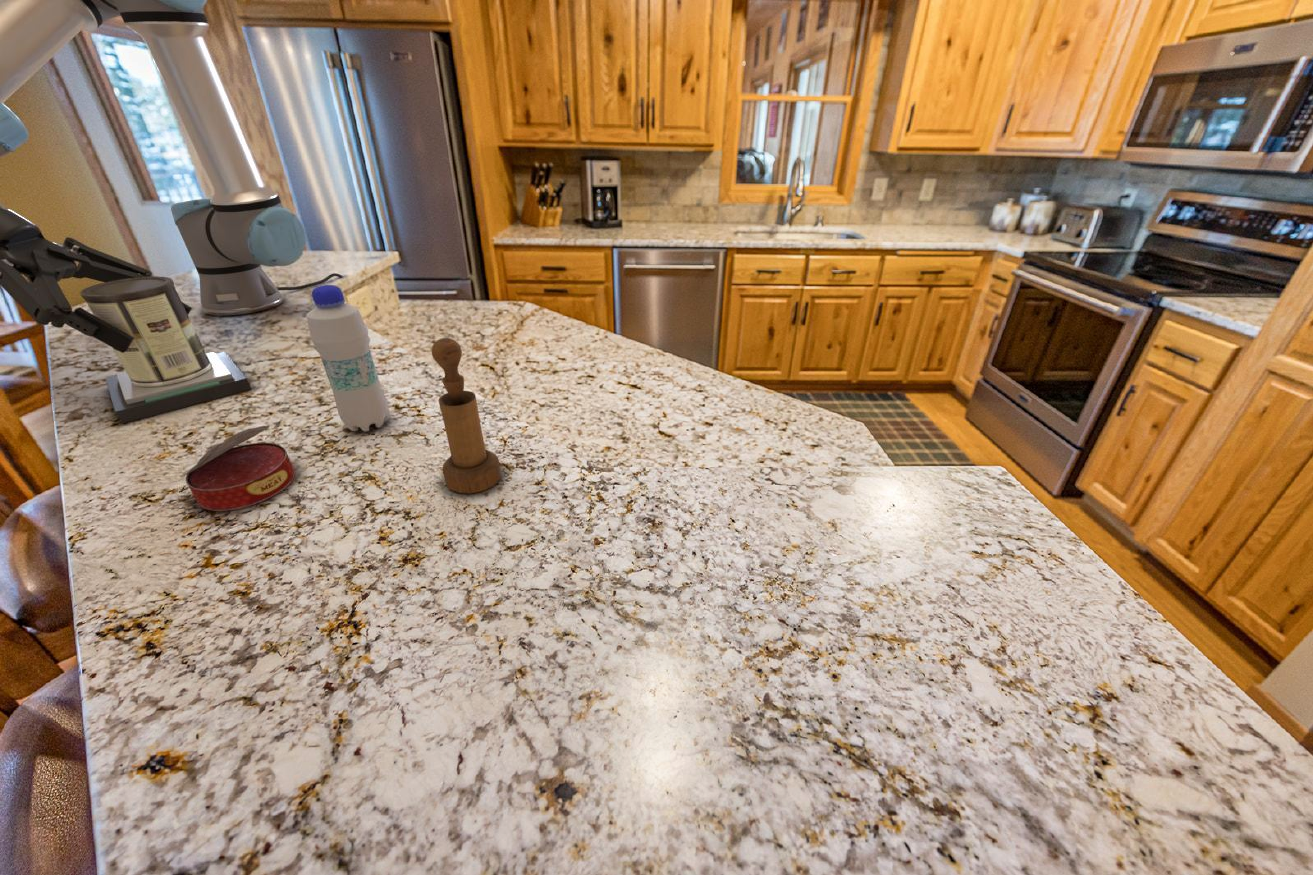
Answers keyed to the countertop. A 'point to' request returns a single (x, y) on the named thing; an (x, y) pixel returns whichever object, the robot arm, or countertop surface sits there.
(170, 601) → the countertop surface
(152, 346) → the coffee can
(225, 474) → the canned food
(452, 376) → the mortar and pestle
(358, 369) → the bottle
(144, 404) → the scale
